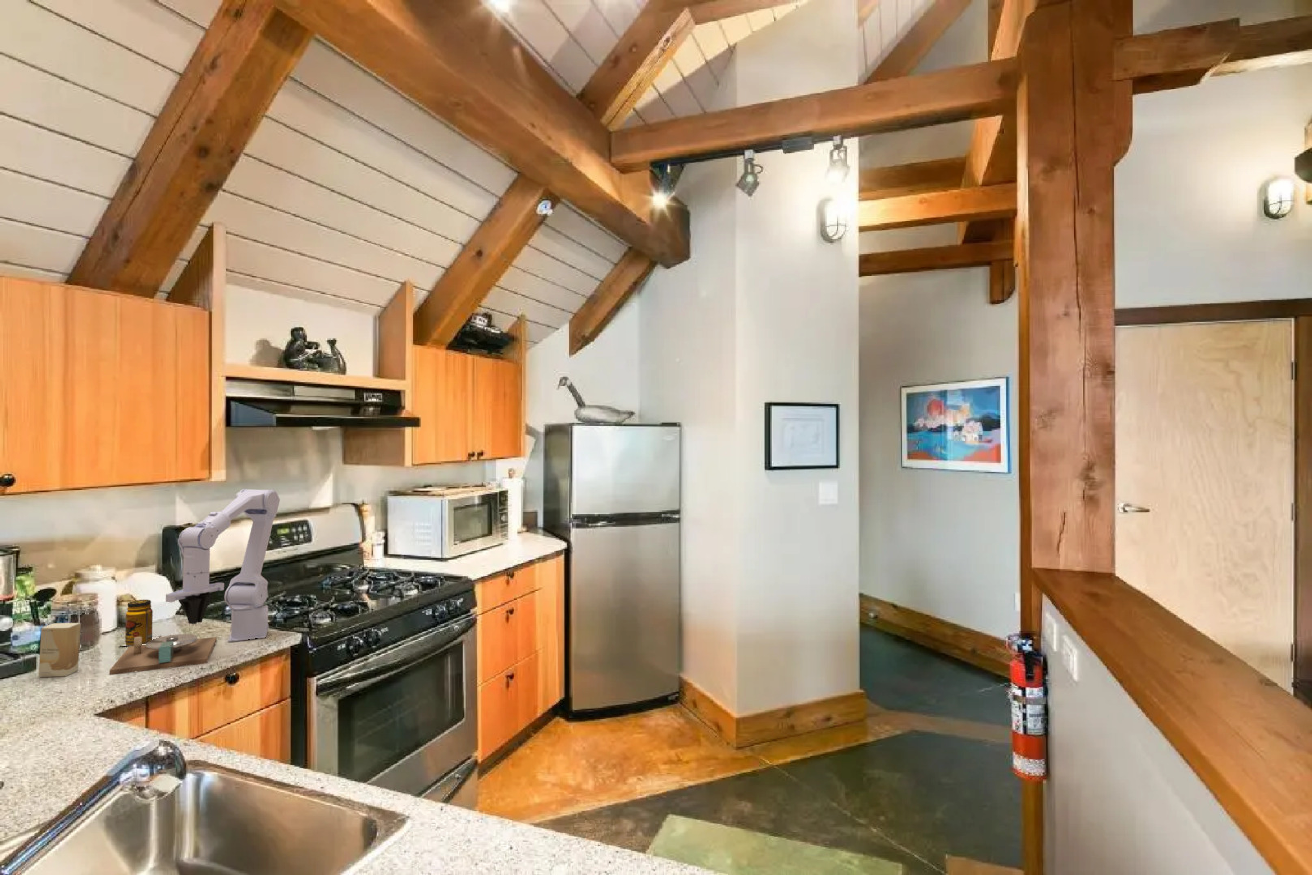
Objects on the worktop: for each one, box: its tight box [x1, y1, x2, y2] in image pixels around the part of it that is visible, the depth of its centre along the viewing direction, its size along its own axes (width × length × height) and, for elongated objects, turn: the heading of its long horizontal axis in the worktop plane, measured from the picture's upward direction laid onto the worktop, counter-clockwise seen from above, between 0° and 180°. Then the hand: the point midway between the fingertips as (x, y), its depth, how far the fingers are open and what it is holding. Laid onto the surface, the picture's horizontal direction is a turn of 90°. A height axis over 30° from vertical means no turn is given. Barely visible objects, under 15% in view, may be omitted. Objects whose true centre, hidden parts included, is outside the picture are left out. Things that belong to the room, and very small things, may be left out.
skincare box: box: [38, 622, 82, 678], centre depth 159 cm, size 6×4×12 cm
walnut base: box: [109, 636, 218, 676], centre depth 172 cm, size 20×20×6 cm
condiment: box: [124, 599, 162, 646], centre depth 184 cm, size 7×8×12 cm
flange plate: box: [146, 633, 198, 663], centre depth 171 cm, size 16×11×4 cm
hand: (195, 622), depth 171 cm, fingers closed
